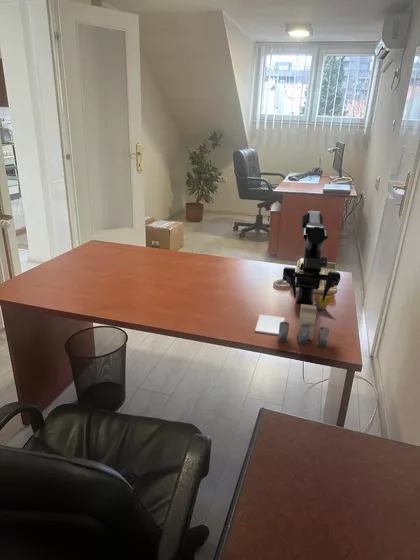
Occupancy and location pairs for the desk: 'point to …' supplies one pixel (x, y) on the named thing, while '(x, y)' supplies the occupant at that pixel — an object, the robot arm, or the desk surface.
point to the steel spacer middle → (303, 334)
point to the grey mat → (269, 324)
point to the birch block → (307, 318)
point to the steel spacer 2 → (323, 337)
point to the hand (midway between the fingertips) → (308, 299)
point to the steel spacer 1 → (283, 331)
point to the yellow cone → (321, 304)
